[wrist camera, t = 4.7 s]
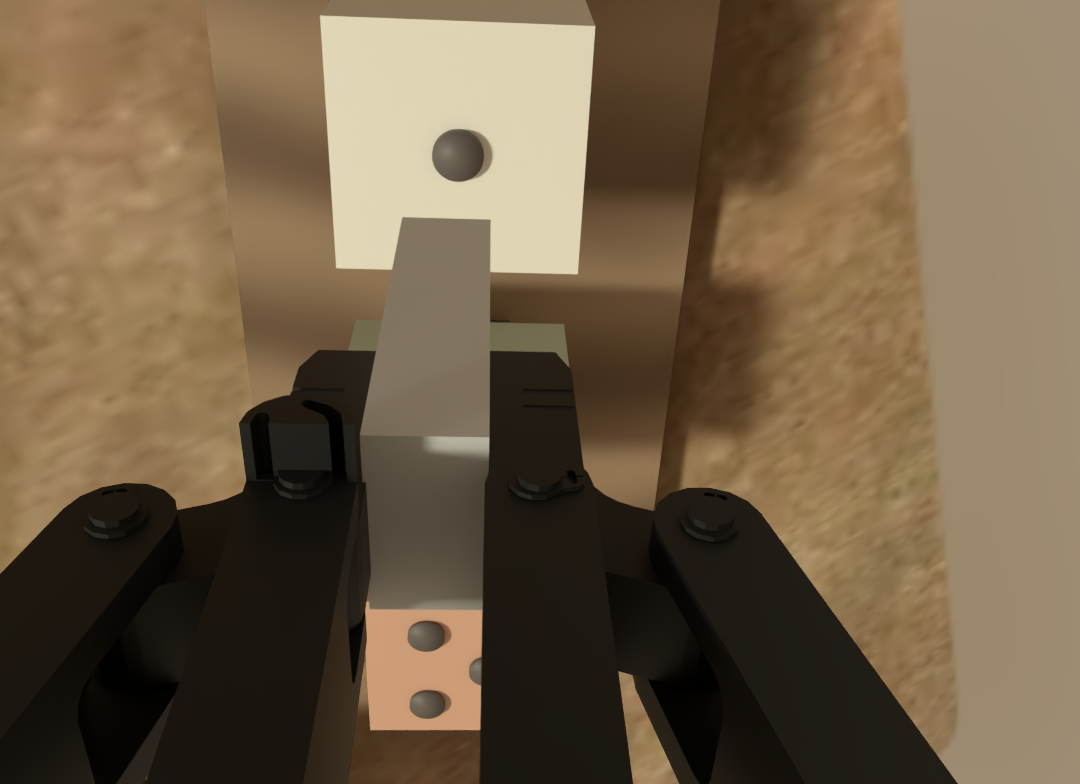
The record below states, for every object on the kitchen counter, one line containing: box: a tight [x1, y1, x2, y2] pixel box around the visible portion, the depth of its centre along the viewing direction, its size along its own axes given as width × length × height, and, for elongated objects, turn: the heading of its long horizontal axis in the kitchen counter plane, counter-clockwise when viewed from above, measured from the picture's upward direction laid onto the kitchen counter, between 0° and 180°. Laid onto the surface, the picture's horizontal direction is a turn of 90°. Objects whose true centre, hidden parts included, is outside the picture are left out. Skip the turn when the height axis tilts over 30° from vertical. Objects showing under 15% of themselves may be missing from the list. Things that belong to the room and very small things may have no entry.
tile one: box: [320, 0, 595, 274], centre depth 25 cm, size 6×6×3 cm
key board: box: [204, 0, 721, 662], centre depth 34 cm, size 28×14×2 cm, turn 177°
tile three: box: [365, 590, 482, 730], centre depth 35 cm, size 6×6×3 cm
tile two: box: [349, 319, 569, 367], centre depth 30 cm, size 6×6×3 cm
